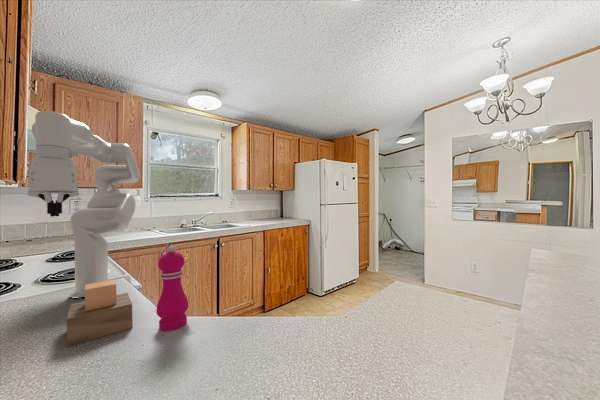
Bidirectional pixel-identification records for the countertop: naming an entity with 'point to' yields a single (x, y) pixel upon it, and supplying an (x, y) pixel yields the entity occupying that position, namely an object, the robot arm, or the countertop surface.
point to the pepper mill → (172, 292)
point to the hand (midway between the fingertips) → (54, 216)
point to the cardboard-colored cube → (100, 294)
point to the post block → (98, 320)
